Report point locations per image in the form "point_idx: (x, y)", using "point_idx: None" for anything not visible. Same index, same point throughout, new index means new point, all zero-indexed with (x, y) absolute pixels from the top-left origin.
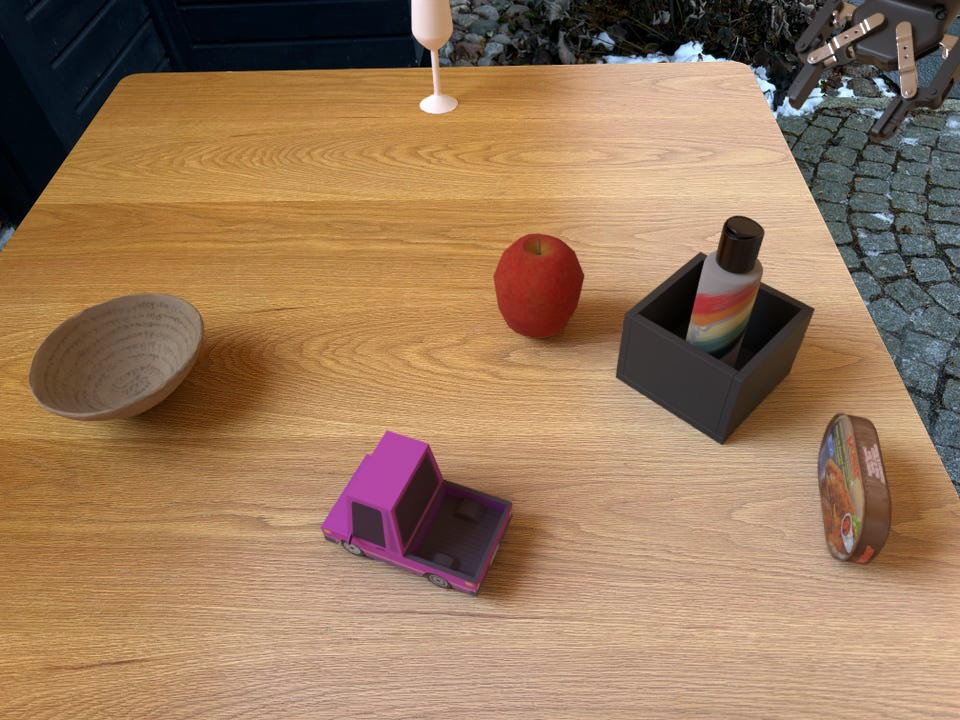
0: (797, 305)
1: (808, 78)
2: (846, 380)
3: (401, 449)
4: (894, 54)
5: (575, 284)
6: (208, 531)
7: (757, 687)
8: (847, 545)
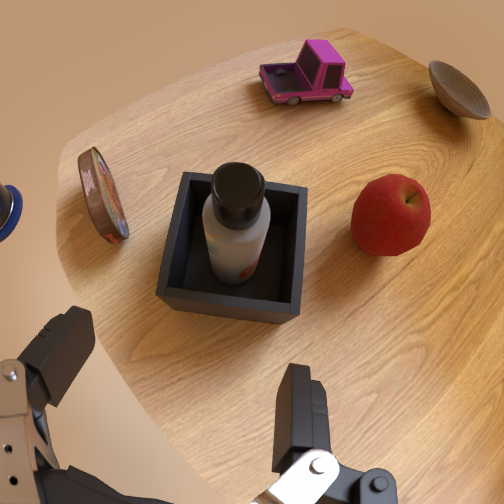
0: (172, 289)
1: (293, 412)
2: (131, 327)
3: (330, 57)
4: (54, 487)
5: (365, 210)
6: (368, 68)
7: (132, 109)
8: (100, 160)
